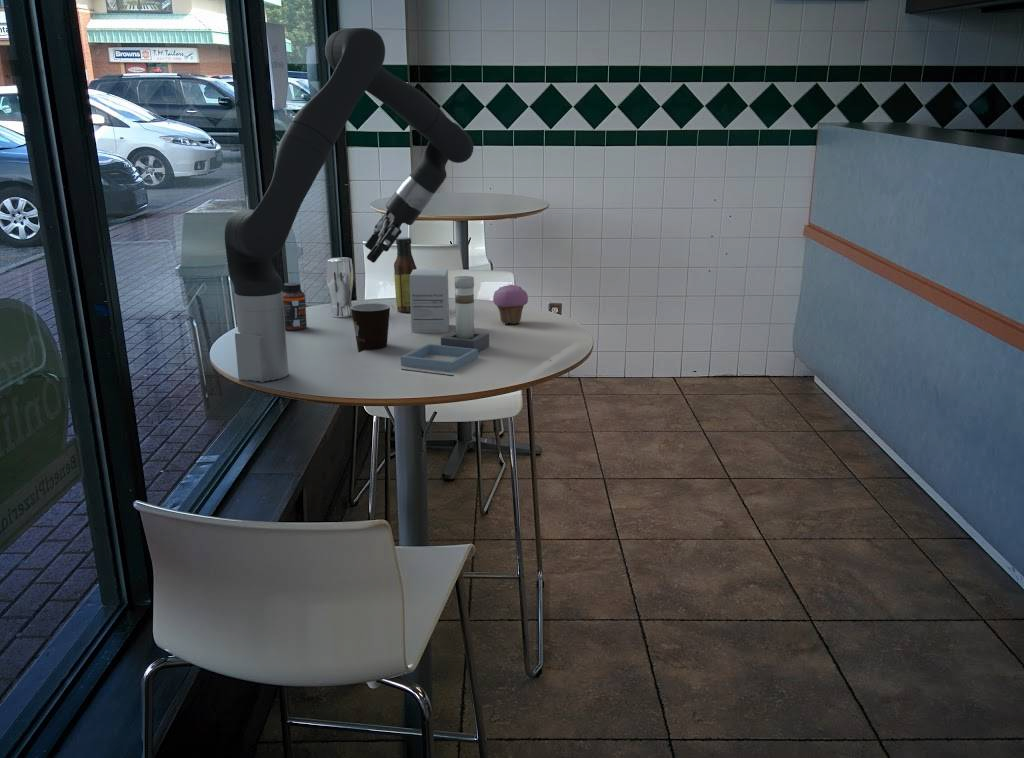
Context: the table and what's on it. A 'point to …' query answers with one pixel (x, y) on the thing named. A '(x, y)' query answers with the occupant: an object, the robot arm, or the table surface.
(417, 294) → the supplement box
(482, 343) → the box
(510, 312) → the cupcake
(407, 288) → the sauce bottle
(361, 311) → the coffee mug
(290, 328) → the supplement bottle
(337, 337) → the table surface
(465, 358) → the parts tray
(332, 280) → the beer glass
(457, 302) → the cylinder
